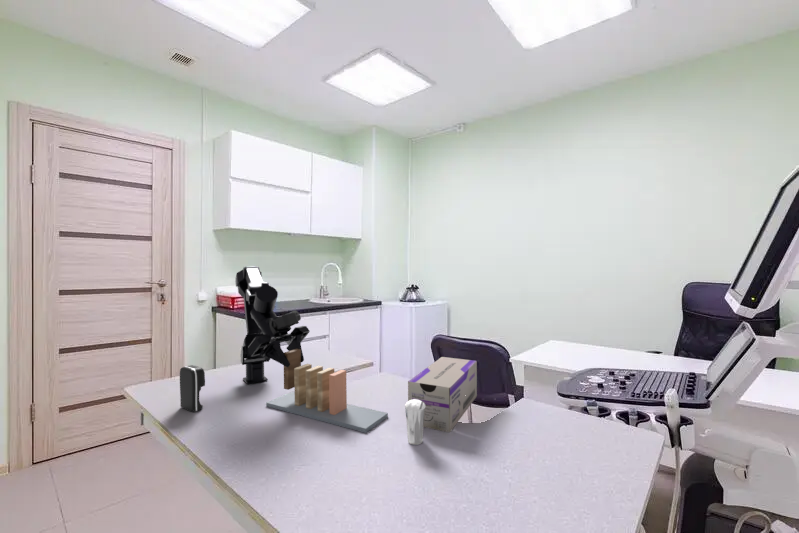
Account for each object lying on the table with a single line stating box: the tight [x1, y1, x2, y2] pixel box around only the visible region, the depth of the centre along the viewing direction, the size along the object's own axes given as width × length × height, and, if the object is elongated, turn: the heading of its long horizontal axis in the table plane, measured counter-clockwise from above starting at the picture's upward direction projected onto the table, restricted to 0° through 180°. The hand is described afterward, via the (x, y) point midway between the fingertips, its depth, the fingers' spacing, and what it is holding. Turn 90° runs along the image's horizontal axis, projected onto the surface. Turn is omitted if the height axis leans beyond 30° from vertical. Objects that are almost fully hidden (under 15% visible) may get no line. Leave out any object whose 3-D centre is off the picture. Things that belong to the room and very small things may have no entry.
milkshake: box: [404, 399, 425, 446], centre depth 84 cm, size 4×5×10 cm
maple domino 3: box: [317, 367, 335, 412], centre depth 100 cm, size 2×5×10 cm, turn 151°
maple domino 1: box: [294, 363, 313, 406], centre depth 104 cm, size 2×5×10 cm, turn 151°
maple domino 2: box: [306, 365, 324, 409], centre depth 102 cm, size 2×5×10 cm, turn 151°
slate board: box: [265, 390, 389, 434], centre depth 101 cm, size 33×10×1 cm, turn 61°
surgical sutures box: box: [407, 356, 478, 433], centre depth 102 cm, size 25×11×11 cm, turn 154°
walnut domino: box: [283, 348, 302, 390], centre depth 106 cm, size 2×5×10 cm, turn 151°
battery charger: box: [179, 364, 206, 413], centre depth 103 cm, size 7×4×11 cm, turn 57°
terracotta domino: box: [329, 369, 348, 415], centre depth 98 cm, size 2×5×10 cm, turn 151°
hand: (296, 363), depth 105 cm, fingers closed on walnut domino, 5 cm apart
